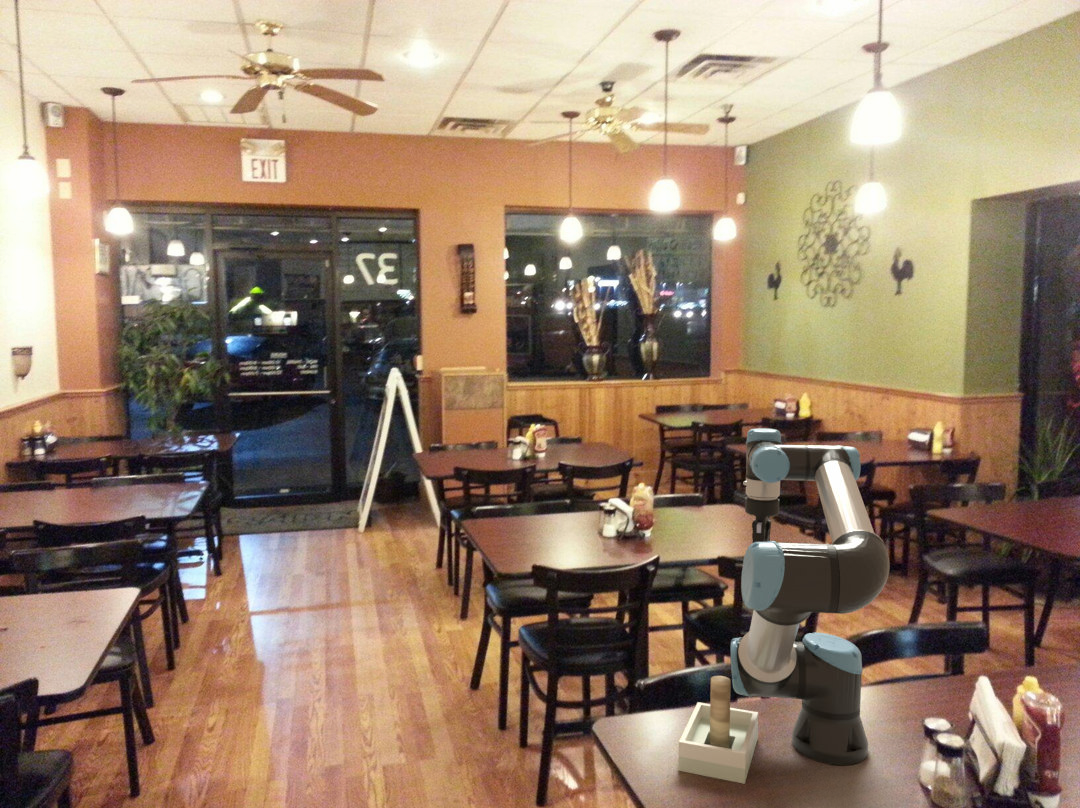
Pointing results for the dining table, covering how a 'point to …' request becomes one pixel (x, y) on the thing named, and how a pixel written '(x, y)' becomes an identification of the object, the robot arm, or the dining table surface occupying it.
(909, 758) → the dining table surface
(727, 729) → the peg
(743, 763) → the bore tray
